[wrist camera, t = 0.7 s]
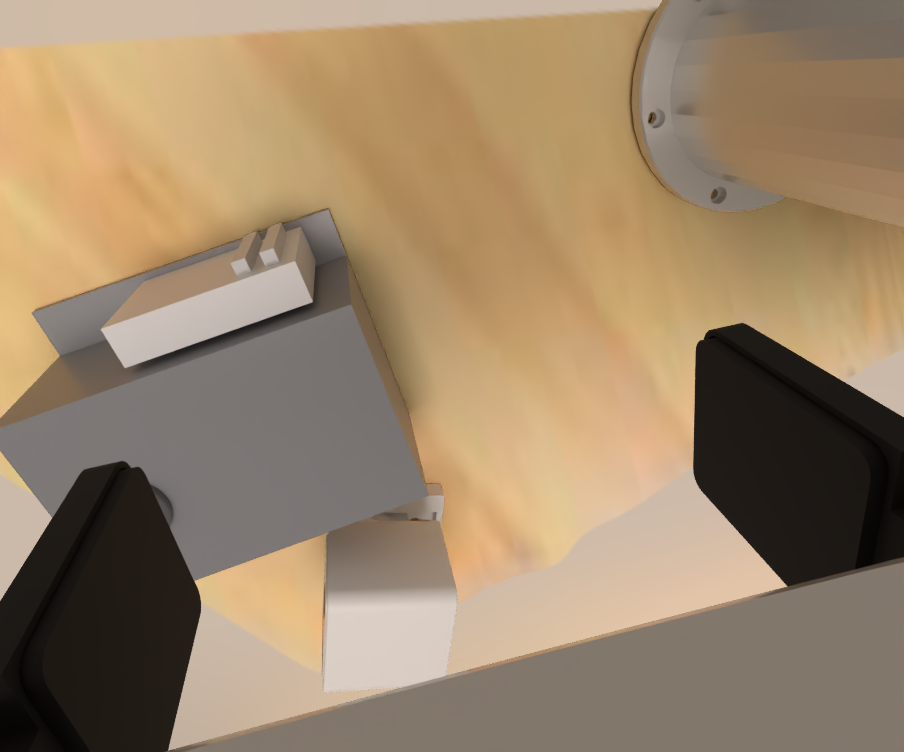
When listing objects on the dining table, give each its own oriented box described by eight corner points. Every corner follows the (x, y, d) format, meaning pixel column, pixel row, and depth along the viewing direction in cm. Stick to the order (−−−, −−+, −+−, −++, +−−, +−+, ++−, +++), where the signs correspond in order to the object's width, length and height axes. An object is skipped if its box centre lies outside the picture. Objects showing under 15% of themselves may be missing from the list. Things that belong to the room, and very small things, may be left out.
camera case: (328, 208, 31) (328, 251, 23) (409, 414, 37) (430, 503, 29) (35, 310, 31) (-64, 388, 23) (162, 502, 36) (118, 616, 29)
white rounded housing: (326, 477, 37) (326, 602, 29) (442, 477, 39) (476, 596, 30) (322, 561, 40) (321, 700, 31) (431, 558, 41) (459, 690, 33)
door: (296, 214, 30) (288, 246, 25) (315, 260, 31) (313, 302, 26) (137, 269, 30) (91, 315, 24) (162, 314, 31) (124, 368, 25)
